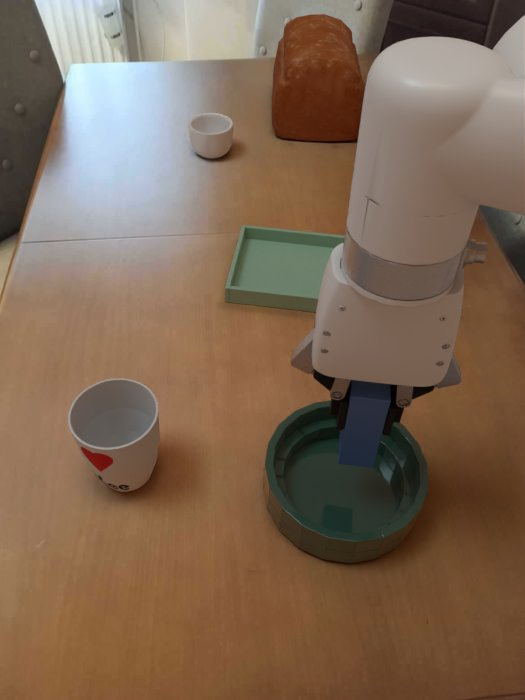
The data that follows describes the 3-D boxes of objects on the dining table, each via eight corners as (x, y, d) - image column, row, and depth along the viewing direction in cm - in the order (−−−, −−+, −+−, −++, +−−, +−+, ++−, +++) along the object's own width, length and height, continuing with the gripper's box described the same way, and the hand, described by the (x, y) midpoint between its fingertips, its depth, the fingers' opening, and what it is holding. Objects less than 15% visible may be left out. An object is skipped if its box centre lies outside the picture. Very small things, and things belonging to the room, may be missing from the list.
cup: (73, 464, 62) (52, 406, 55) (140, 424, 66) (128, 365, 59) (114, 520, 58) (96, 465, 51) (182, 475, 62) (175, 417, 55)
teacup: (233, 164, 104) (233, 134, 100) (188, 163, 103) (186, 134, 99) (233, 135, 110) (233, 107, 106) (192, 135, 110) (190, 106, 106)
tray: (370, 252, 88) (373, 238, 86) (369, 318, 79) (372, 304, 77) (241, 238, 89) (242, 224, 88) (225, 302, 80) (224, 288, 78)
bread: (353, 86, 126) (363, 9, 115) (362, 144, 110) (376, 61, 99) (272, 83, 126) (275, 6, 115) (269, 140, 110) (273, 56, 99)
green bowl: (413, 437, 66) (424, 410, 62) (420, 575, 55) (432, 552, 52) (273, 419, 67) (275, 391, 63) (253, 551, 57) (254, 527, 53)
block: (373, 439, 57) (390, 371, 50) (372, 468, 55) (391, 401, 47) (339, 435, 57) (351, 366, 50) (337, 464, 55) (350, 396, 48)
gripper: (522, 228, 41) (455, 396, 54) (281, 207, 42) (274, 376, 55) (542, 303, 36) (462, 468, 49) (267, 276, 37) (264, 444, 50)
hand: (363, 418), depth 52 cm, fingers closed on block, 3 cm apart
